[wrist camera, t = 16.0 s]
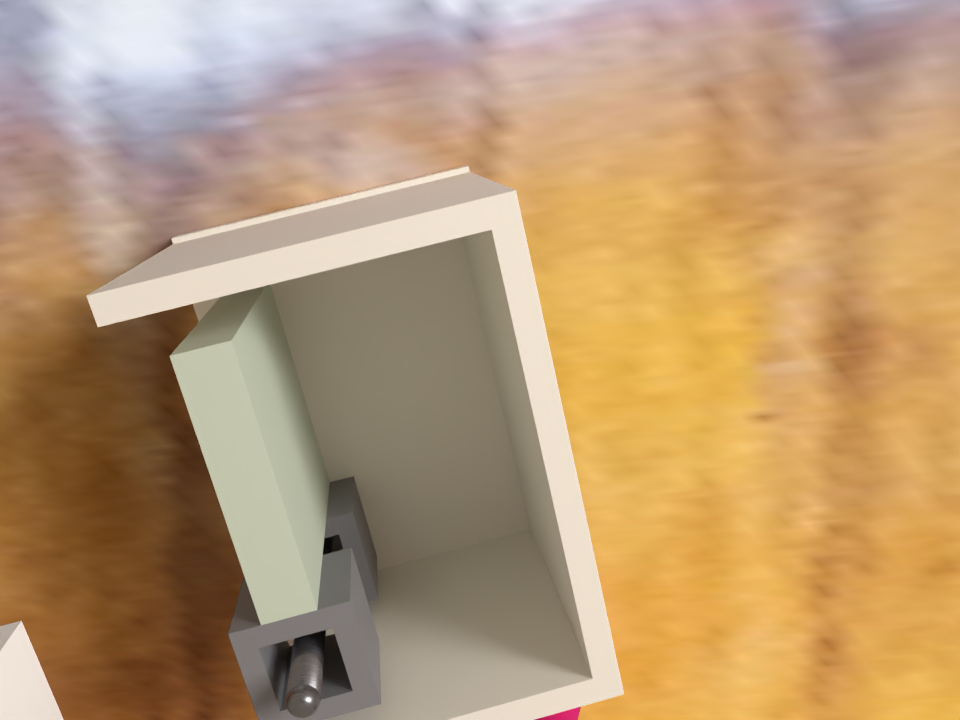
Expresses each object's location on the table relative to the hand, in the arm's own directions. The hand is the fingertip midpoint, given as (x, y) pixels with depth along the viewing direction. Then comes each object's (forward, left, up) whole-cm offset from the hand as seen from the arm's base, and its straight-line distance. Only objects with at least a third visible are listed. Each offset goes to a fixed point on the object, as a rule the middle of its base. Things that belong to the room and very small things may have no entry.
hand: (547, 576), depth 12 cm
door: (+9, -9, -38) cm, 40 cm away
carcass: (+8, -4, -39) cm, 40 cm away
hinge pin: (+15, -9, -37) cm, 41 cm away
